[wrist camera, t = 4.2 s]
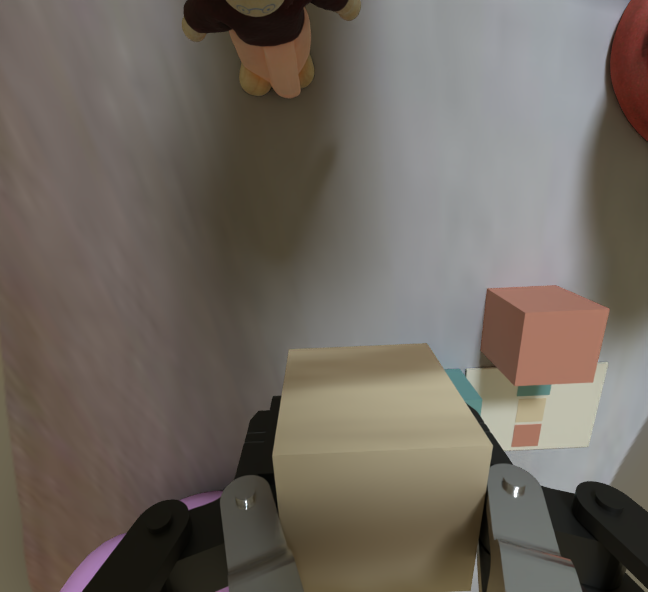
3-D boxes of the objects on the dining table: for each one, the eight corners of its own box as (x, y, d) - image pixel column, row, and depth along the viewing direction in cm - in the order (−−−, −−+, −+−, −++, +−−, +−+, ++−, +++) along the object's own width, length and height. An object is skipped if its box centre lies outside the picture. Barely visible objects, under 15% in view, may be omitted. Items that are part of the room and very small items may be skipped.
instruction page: (465, 368, 27) (467, 370, 27) (606, 362, 27) (608, 363, 27) (458, 451, 30) (459, 453, 29) (586, 445, 30) (588, 447, 29)
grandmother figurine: (237, 121, 22) (134, 47, 9) (212, 53, 20) (57, -132, 8) (356, 78, 21) (407, -62, 9) (337, 4, 20) (366, -273, 8)
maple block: (289, 349, 13) (272, 455, 8) (427, 343, 13) (493, 445, 8) (297, 458, 14) (288, 599, 10) (419, 452, 14) (470, 590, 10)
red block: (486, 288, 25) (525, 312, 21) (555, 284, 25) (609, 308, 21) (479, 350, 27) (514, 386, 22) (544, 346, 27) (593, 382, 22)
